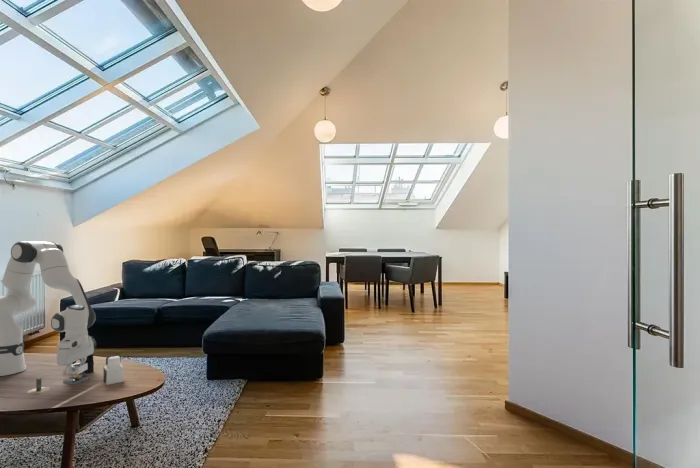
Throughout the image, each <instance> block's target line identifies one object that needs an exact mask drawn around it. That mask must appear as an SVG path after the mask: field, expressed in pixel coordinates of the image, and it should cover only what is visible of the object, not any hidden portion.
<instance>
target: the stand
mask: <svg viewBox="0 0 700 468" xmlns="http://www.w3.org/2000/svg"><path fill="white" fill-rule="evenodd" d="M35 385H36V386H35V388H31V389H29V390H27V392H26V393H27V394H29V395H35V394H41V393H45V392H47V391H49V390H50V389H51V386H42V378H41V377H39V378H36V383H35Z"/></svg>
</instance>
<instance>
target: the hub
mask: <svg viewBox="0 0 700 468" xmlns="http://www.w3.org/2000/svg"><path fill="white" fill-rule="evenodd" d="M79 374H80V373H79ZM79 374H73V376H70V377H68V378H65V379H63V381H62V383H63V384H65V385H74V384H79V383H83V382H86V381H88V380H89V379H90V377H89V375H86V374H85V375H83V374H81V375H79Z"/></svg>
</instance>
